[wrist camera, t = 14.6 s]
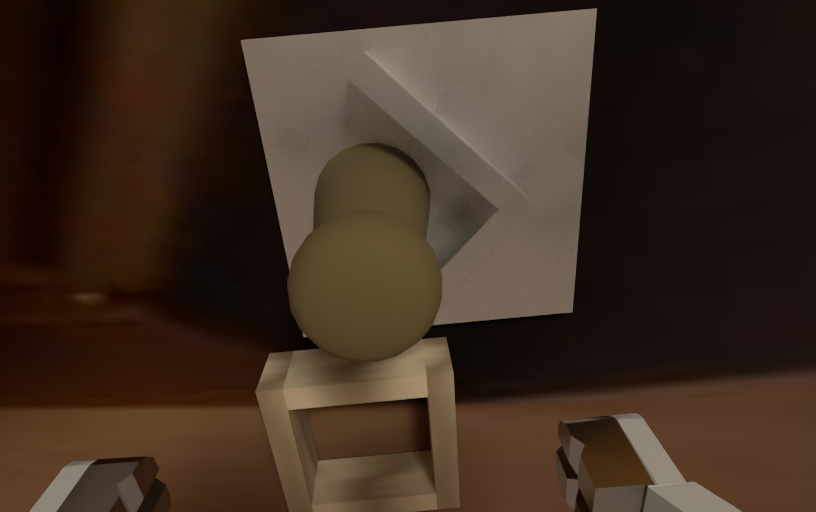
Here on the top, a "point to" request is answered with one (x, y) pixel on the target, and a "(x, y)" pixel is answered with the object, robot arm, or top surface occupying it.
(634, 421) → the robot arm
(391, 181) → the cork
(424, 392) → the wooden holder
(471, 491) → the top surface
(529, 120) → the white ridged plate
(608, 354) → the top surface
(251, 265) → the top surface
